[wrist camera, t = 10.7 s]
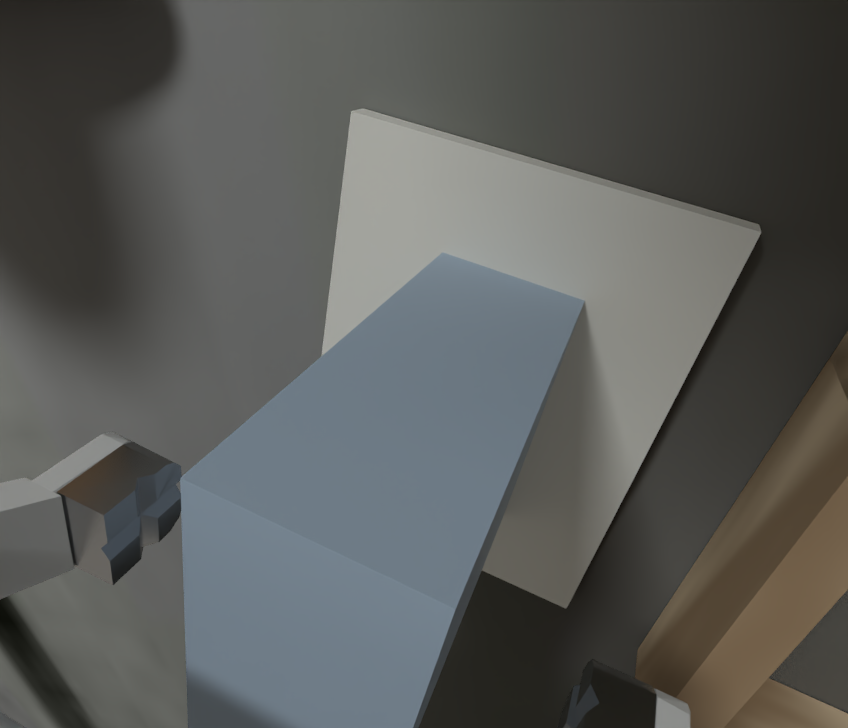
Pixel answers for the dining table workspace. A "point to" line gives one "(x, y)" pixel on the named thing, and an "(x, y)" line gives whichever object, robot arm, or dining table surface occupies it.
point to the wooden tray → (764, 578)
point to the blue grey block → (365, 506)
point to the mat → (558, 270)
